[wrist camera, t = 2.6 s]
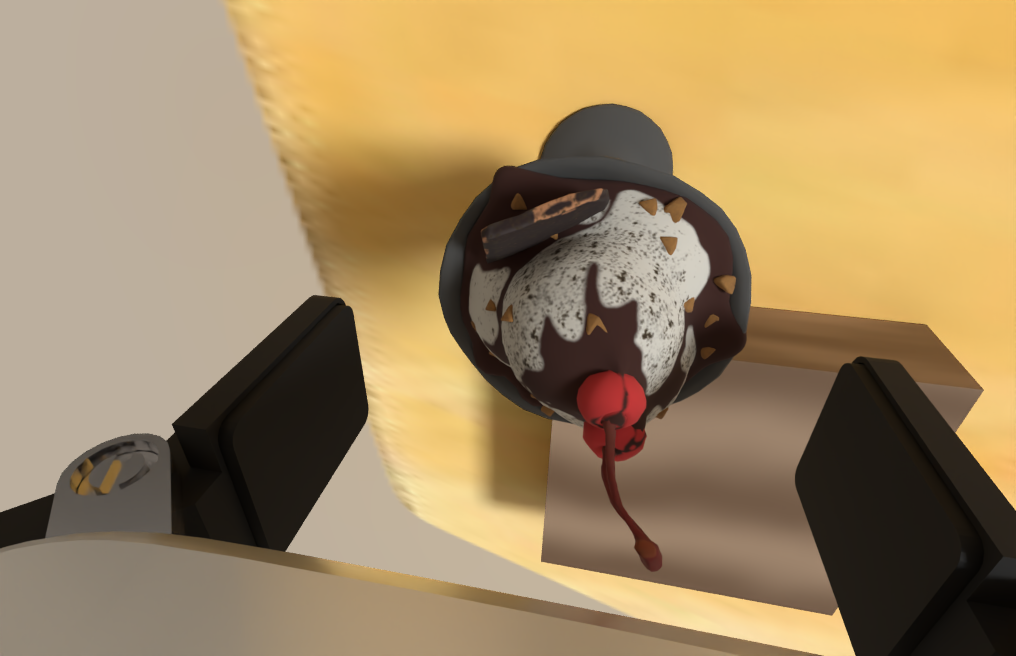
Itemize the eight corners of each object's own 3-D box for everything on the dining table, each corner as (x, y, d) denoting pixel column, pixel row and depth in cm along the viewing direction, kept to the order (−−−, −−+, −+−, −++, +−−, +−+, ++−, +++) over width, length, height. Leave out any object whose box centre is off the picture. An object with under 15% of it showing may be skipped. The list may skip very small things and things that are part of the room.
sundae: (659, 273, 21) (700, 665, 9) (502, 228, 22) (334, 549, 9) (732, 106, 18) (974, 389, 5) (541, 55, 18) (346, 208, 6)
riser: (568, 287, 22) (558, 339, 19) (926, 324, 20) (983, 390, 17) (550, 498, 30) (541, 561, 27) (808, 541, 28) (832, 615, 25)
